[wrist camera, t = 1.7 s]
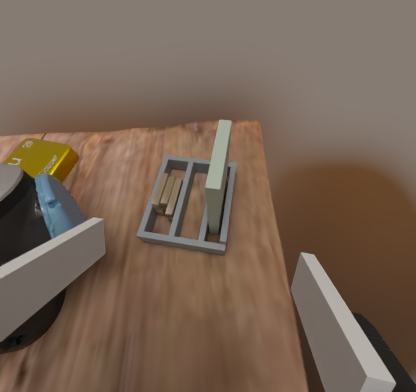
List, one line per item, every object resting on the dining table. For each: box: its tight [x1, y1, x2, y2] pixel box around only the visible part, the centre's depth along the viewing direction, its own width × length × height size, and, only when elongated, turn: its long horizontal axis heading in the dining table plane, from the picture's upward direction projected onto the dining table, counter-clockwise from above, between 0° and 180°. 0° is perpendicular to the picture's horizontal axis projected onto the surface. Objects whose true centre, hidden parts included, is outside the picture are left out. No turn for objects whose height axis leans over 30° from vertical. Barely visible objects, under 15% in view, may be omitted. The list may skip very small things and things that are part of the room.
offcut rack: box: [136, 155, 237, 255], centre depth 44 cm, size 18×21×6 cm
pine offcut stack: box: [151, 173, 183, 221], centre depth 45 cm, size 4×9×6 cm, turn 170°
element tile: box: [2, 138, 79, 184], centre depth 52 cm, size 15×15×5 cm
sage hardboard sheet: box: [205, 120, 232, 235], centre depth 38 cm, size 2×13×20 cm, turn 170°
